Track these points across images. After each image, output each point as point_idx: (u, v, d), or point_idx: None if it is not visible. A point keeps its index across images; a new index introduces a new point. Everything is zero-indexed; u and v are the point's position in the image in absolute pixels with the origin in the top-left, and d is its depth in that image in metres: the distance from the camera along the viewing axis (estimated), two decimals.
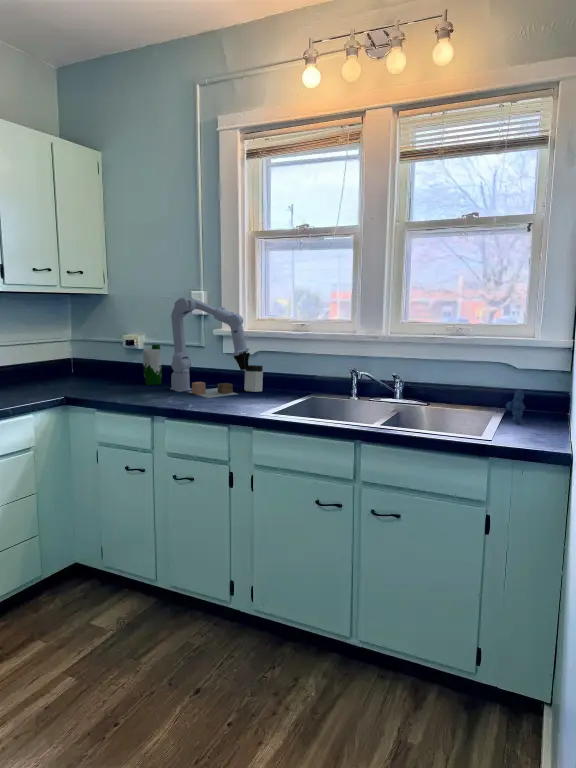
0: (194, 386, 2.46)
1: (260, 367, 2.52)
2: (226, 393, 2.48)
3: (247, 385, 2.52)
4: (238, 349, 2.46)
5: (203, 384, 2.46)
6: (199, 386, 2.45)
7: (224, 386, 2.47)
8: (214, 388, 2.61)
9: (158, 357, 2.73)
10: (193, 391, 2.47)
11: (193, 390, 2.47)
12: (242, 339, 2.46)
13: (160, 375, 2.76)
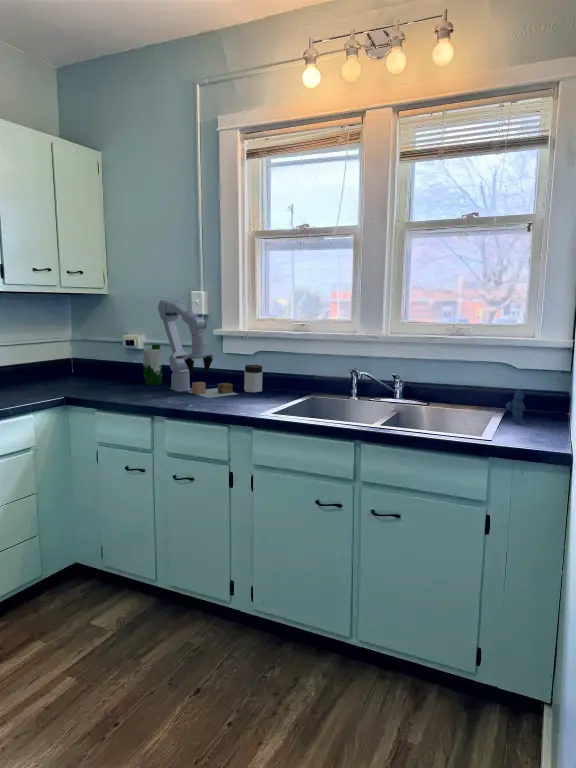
0: (194, 386, 2.46)
1: (259, 368, 2.51)
2: (226, 393, 2.48)
3: (246, 386, 2.52)
4: (192, 353, 2.43)
5: (203, 384, 2.46)
6: (199, 386, 2.45)
7: (224, 386, 2.47)
8: (214, 388, 2.61)
9: (158, 357, 2.73)
10: (193, 391, 2.47)
11: (193, 390, 2.47)
12: (197, 344, 2.41)
13: (160, 375, 2.76)
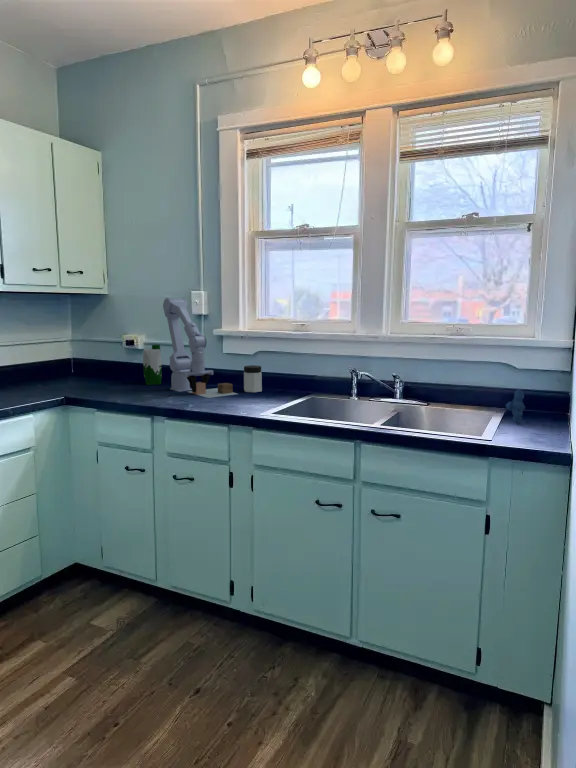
0: None
1: (258, 368, 2.51)
2: (226, 393, 2.48)
3: (246, 387, 2.52)
4: (192, 371, 2.44)
5: (203, 384, 2.46)
6: (199, 386, 2.45)
7: (224, 386, 2.47)
8: (214, 388, 2.61)
9: (158, 357, 2.73)
10: None
11: None
12: (197, 362, 2.43)
13: (160, 375, 2.76)
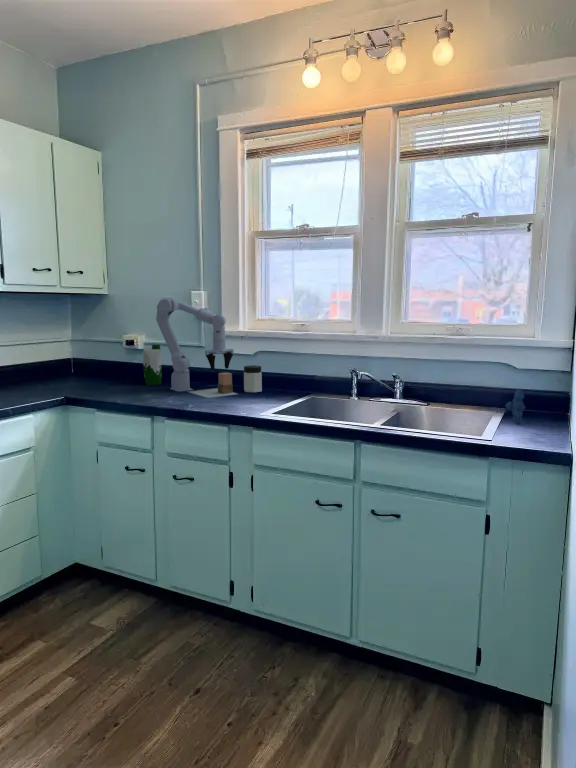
0: (220, 377, 2.48)
1: (258, 368, 2.51)
2: (226, 393, 2.48)
3: (246, 387, 2.52)
4: (214, 349, 2.53)
5: (229, 375, 2.48)
6: (226, 376, 2.47)
7: (224, 386, 2.47)
8: (214, 388, 2.61)
9: (158, 357, 2.73)
10: (219, 381, 2.49)
11: (219, 380, 2.49)
12: (223, 340, 2.52)
13: (160, 375, 2.76)
